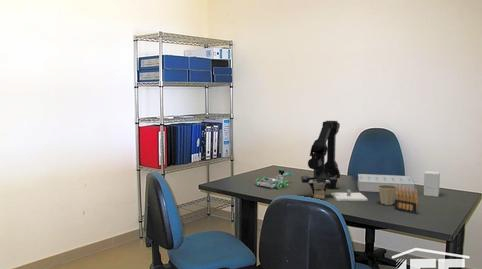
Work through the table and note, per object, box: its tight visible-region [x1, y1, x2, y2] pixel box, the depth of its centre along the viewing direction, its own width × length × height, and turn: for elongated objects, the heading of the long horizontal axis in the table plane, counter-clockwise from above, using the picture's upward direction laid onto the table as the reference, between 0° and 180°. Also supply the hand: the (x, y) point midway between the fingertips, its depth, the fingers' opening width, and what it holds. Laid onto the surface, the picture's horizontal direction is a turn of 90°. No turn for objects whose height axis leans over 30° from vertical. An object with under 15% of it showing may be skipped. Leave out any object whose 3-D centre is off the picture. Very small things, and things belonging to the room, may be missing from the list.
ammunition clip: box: [393, 185, 419, 215], centre depth 197 cm, size 11×2×12 cm, turn 44°
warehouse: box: [357, 173, 416, 195], centre depth 242 cm, size 30×14×8 cm, turn 77°
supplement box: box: [423, 170, 441, 197], centre depth 229 cm, size 7×7×13 cm
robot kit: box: [255, 168, 294, 190], centre depth 254 cm, size 19×25×9 cm
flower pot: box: [378, 185, 397, 206], centre depth 211 cm, size 9×9×9 cm
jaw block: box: [312, 187, 326, 199], centre depth 225 cm, size 7×5×4 cm
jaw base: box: [330, 189, 368, 202], centre depth 223 cm, size 13×16×4 cm
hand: (318, 194), depth 225 cm, fingers closed on jaw block, 5 cm apart
